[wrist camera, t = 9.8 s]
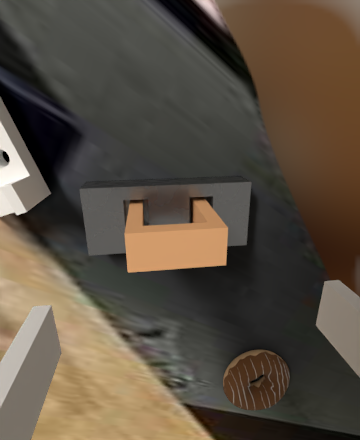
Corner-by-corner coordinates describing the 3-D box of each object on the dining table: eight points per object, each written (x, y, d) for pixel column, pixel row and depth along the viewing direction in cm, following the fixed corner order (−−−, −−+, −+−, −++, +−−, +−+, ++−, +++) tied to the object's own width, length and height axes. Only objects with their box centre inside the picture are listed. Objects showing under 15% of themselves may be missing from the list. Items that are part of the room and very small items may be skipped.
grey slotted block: (86, 181, 31) (79, 188, 27) (240, 176, 33) (251, 182, 29) (94, 242, 33) (88, 255, 30) (236, 233, 35) (246, 244, 32)
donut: (209, 388, 44) (216, 413, 41) (235, 338, 41) (244, 359, 38) (265, 397, 47) (276, 420, 43) (293, 350, 44) (307, 371, 40)
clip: (130, 198, 31) (124, 233, 21) (202, 195, 32) (228, 227, 22) (132, 227, 32) (127, 272, 23) (201, 223, 33) (226, 265, 24)
